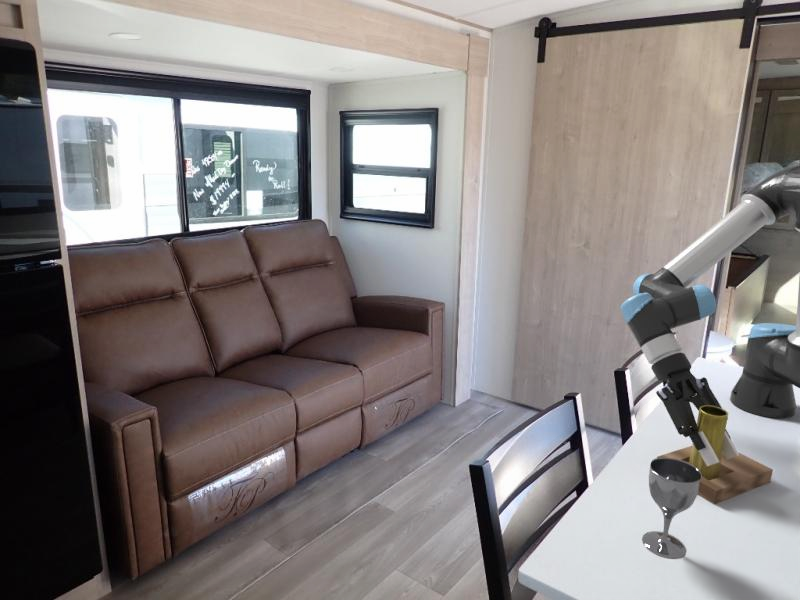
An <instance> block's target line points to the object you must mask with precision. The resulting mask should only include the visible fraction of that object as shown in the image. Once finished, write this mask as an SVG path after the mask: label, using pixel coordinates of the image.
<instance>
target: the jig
mask: <svg viewBox="0 0 800 600" xmlns="http://www.w3.org/2000/svg"><path fill="white" fill-rule="evenodd" d="M691 449H692V445H690V446H687V447H683V448H680V449H677V450H674V451H670V452H668V453H664V454H661V455H658V456H656V458H661V457H669V458H676V459H680V460H683V461H685V462H688V463H689V461H690V454H691ZM737 452H738V451H737ZM738 453H739V455H738V456H736V457H733V458H730V459H726V457H725V455H724V454H723V452H722V456H721V464H720V475H719V477H718V478H715V479H706V478H704V477H702V476H701V484H700V488H699V491H698V494H697V496H699V497H701V498H703V499H705V500H706V501H708V502H709V503H712V504H713V505H715V504H719V503H720V502H722V501H726V500H728V499H730V498H734V497H736V496H738V495H742V494H743V493H746V492H748V491H751V490H754V489H757V488H758V487H762V486H764V485H766V484H768V483H771V482H772V475H773V471H774V469H772V468H770V467H768V466H767V465H764V464H763V463H760V462H758V461H756V460H754V459H753V458H750V457H749V456H747V455H744V454H742V453H741V452H738Z"/></svg>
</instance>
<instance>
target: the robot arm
mask: <svg viewBox="0 0 800 600" xmlns="http://www.w3.org/2000/svg"><path fill="white" fill-rule="evenodd" d="M791 215H792V216H794V217H795V220H794V229H795V230H796V231H797V232H799V233H800V164H796V165H792V166H787V167H785V168H783V169H781V170H779V171H777V172H775V173H773V174H771V175H770V176H768V177H766V178H765V179H763V180H762V181H760V182H758V184H757V183H756V185H755V186H753V187H752V188H750V189H749V190H748V191H747V192H746V193H744V194H742V196H741V199H740V203H739V204H738V205H736V207H734V208H733V209H731V210H730V211H729V212H728V213H727V214H726V215H724V216H723V217H722V218H720V220H718V221H717V222H716V223H715V224H714V225H712V226H710V228H709V229H707V230H706V231H705V232H704V233H702V234H701V235H700V236H699V237H698V238H696V239H695V240H694V241H693V242H692V243H690V244H689V245H688V246H687V247H685V248H684V249H683V250H682V251H680V252H679V253H678V254H677V255H676V256H675V257H673V258H672V259H671V260H669V262H668V263H666V264H665V265H664V266H662V267H661V268H660V269H658V270H657V271H656V272H655V273H654V274H653V273H644V274H642V275H640V276H638V277H637V278H636V279H635V281H634V282H633V285H632V292H633V295H632V296H631V297H629V298H627V299H626V300H625V301H623V302H622V304H621V306H620V312H621V314H622V317H623V318H624V321H625V323H626V325H627V326H628V328H629V330H630V331H631V333H632V335H633V336H634V338H635V340H636V342H637V344H638V346H639V348H640V350H641V351H642V353H643V356H644V357H645V358H646V361H647V362H648V364H650V365H651V370H652V372H653V374H654V376H655V378H656V379H657V381H658V382H662V388H660V389H659V390H657V391H656V392H655V393H656V396H657V397H658V398H659V399H660V400H661V402H662V403H663V405H664V407H665V409H666V411H667V413H668V415H669V417H670V419H671V421H672V423H673V425H674V427H675V429H676V432H677V433H678V434H679V435H680V436H681V435H683V437H685V438H688V437H689V439H690V440H691V442H692V445H693V444H694V446H695V448H696V449H697V450H698V451H699V452H700V454H701V456H702V458H703V460H704V462H705V463H706V465H707V466H710V465H713V464H716V463H718V462H720V461H719V460H718V458H717V456H716V454H715V452H714V451H713V449H712V447H711V445H710V443H709V442H708V440H707V438H706V436H705V434H704V432H703V431H701V432H699V430H698V427H697V421H696V417H695V415H694V412H693V410H692V409H693V408H692V406H691V404H693V406H694V407H695V408H696V409H697V411H698V412H699V409H700V407H701V406H703V405H712V406H717V407H720V408H722V409H723V407H722V406H721V403H720V402H719V401H718V399H717V397H716V395H715V394H714V392H713V391H712V389H711V387H710V385H709V382H708V379H707V378H706V377H702V378H697V377H695V375H694V374H692V372H691V369H692V364H691V362H690V361H689V359H688V358H687V356H686V353H683V352H682V350H683V348H682V346H681V344H680V342H679V341H678V340H677V338H676V336H675V334H674V333H673V331H672V330H673V329H675V328H678V327H682V326H684V325H688V324H691V323H693V322H696V321H700V320H702V319H704V318H707V317H709V316H711V315H713V314H714V313H715V312H716V310H717V302H716V297H715V294H714V293H713V292H712V290H711V288H710V287H708V286H707V285H704V284H698V285H692V284H693V283H694V282H695V281H697V280H698V279H699V278H700V277H702V275H704V274H705V273H707V272H708V271H709V270H710V269H711V268H713V267H714V266H715V265H717V264H718V263H719V262H720V261H722V260H723V259H725V257H727V256H728V255H729V254H730V253H732V252H733V251H734V250H735V249H737V247H739V246H740V245H742V244H743V243H744V242H745V241H746V240H747V239H749V238H750V237H751V236H752V235H754V234H755V233H757V232H758V231H759V230H760V229H761V228H763V227H764V226H765V225H766V226H771V225H773V224H775V222H777V221H778V220H779V219H781V218H783V217H786V216H791ZM798 277H799V278H798V279H799V280H798V293H797V307H796V309H797V311H796V320H795V321H796V324H795V325H793V324H792V325H791V324H786V323H775V322H772V323H771V322H762V323H761V322H759V323H757V324H756V323H755V324H754V325H752V326H751V328H750V331H749V335H748V337H747V343H746V344H747V345H746V349H745V356H744V360H743V361H744V362H743V367H742V373H741V375H740V377H739V378H738V380H737V382H736V383H735V385H734V386H733V388H732V389H731V391H730V396H729V397H730V398H729V400H730V402H731V404H732V405H734V406H735V407H737V408H738V409H740V410H743V411H745V412H748V413H750V414H754V415H756V416H757V415H758V416H762V417H766V418H767V417H768V418H774V419H775V418H776V419H778V418H779V419H783V418H790V417H792V416H794V415H795V413H796V408H797V401H796V396H795V391H794V386H795V387H797V388H798V389H800V275H799V276H798ZM690 285H691V286H690ZM728 420H729V417H728V418H727V421H728ZM698 432H699V433H698ZM722 452H723V454H724V455H725V457H726V459H730V458H733V457H736V456H738V455H739V453H740V452H739V453H738V450H737V448H736V447H735V445H734V443H733V441H732V438H731V436H730V433H729V432H728V430H727V429H725V435H724V441H723V448H722Z"/></svg>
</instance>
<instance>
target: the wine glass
mask: <svg viewBox="0 0 800 600" xmlns="http://www.w3.org/2000/svg"><path fill="white" fill-rule="evenodd" d="M648 471H649V473H648V486H649V487H648V488H649V492H650V496H651V498H652V499H653V501H654V502H655V504H656V505H657V506H658V508H659V509H660V510H661V512H662V515H663V531H658V530H656V531H655V530H654V531H653V530H652V531H648V532H646V533H644V534H643V535H642V538H641V541H642V544H643V546H644V547H645V548H646V549H647V550H648V551H649V552H651V553H653V554H655V555H657V556H658V557H662V558H664V559H665V558H666V559H672V560H673V559H680V558H682V557H684V556H685V555H686V553H687V548H686V546H685V544H684V542H683V541H681V540H680V539H679V538H677V537H676V536H675V535H672V534H671V533H669V529H670V527H671V522H672V520H673V519H674V517H676V515H678V514H680V513H683V512H685V511H686V510H688V509H689V508H691V507H692V506H693V504H694V503H695V501H696V499H697V497H698V491H699V488H700V484H701V472H700V471H699V470H698V469H697V468H696V467H695V466H693V465H692V464H690V463H688V462H685V461H683V460H680V459H676V458H669V457H661V458H657V457H656V458H654V459H652V460H651V462H650V465H649V469H648Z"/></svg>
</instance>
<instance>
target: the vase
mask: <svg viewBox="0 0 800 600" xmlns="http://www.w3.org/2000/svg"><path fill="white" fill-rule="evenodd" d="M727 418H728V419H729V412H728V411H727V410H726V409H725V408H723V407H722V408H720V407H717V406H712V405H703V406H701V407H700V409H699V411H698V415H697V421H696V424H697V427H698V430H699V432H701V431H703V432H704V434H705V436H706V438H707V440H708V442H709V443H710V445H711V447H712V449H713V451H714V452H715V454H716V456H717V458H718V460H719V461H720V462H718V463H716V464H713V465H710V466H707V465H706V463H705V462H704V460H703V458H702V456H701V454H700V452H699V451H698V450H697V449H696V448H695V446H694V444H693V443H692V445H691V446H692V449H691V454H690V461H689V463H690V464H692V465H693V466H695V467H696V468H697V469H698V470H699V471H700V472H701V476H702V477H704V478H706V479H707V480H712V479H715V478H718V477H719V475H720V464H721V456H722V448H723V441H724V435H725V429H726V428H727V423H728V420H727ZM726 430H727V429H726ZM699 432H698V433H699Z"/></svg>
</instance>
